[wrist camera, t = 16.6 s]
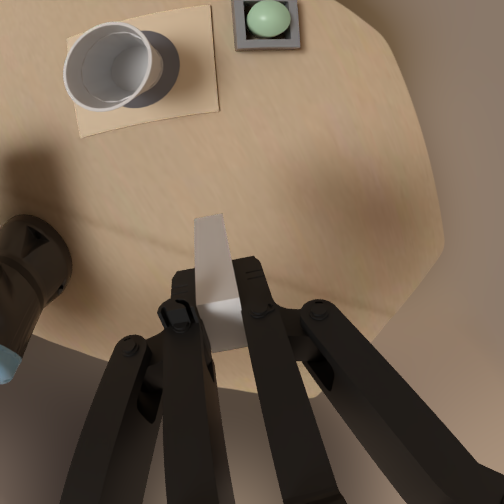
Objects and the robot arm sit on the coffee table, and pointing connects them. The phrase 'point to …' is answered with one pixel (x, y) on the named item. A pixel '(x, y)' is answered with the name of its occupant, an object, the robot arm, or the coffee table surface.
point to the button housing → (289, 41)
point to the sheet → (166, 72)
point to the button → (267, 19)
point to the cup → (110, 67)
